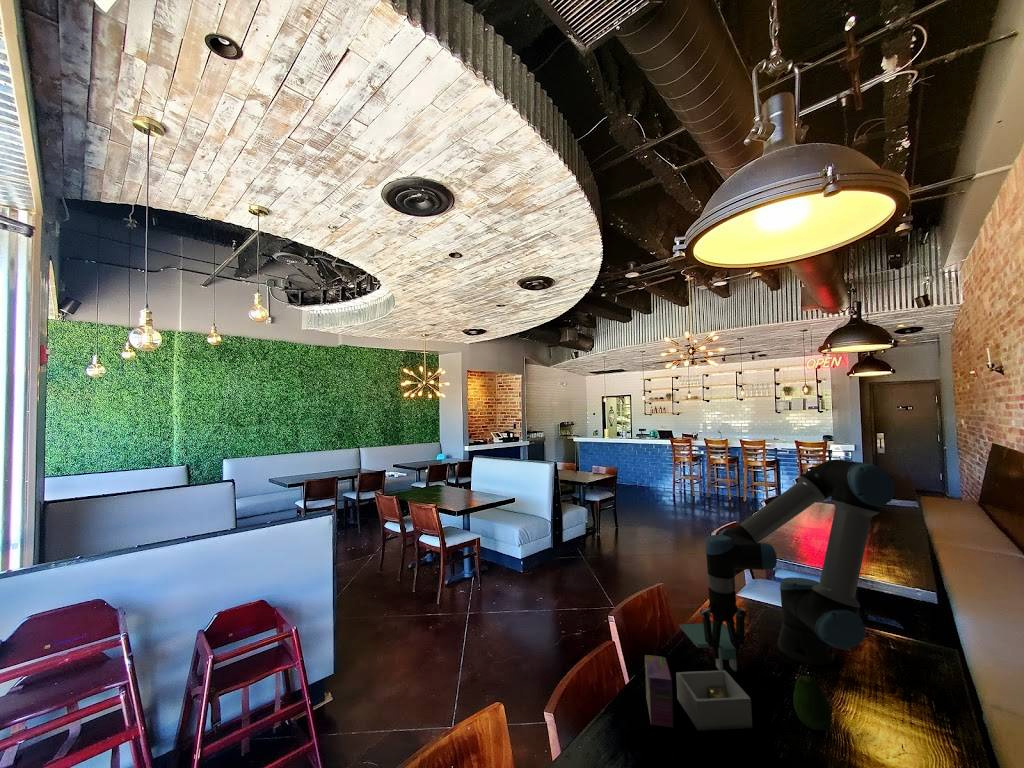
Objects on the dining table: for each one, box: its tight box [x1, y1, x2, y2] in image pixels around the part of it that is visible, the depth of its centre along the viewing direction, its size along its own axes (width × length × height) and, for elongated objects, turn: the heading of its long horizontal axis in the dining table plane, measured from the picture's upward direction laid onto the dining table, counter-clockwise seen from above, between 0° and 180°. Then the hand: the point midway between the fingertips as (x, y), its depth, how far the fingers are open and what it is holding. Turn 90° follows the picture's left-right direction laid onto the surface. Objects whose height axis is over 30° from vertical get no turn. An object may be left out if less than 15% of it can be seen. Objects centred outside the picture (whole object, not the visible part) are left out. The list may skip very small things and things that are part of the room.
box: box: [644, 654, 674, 728], centre depth 112 cm, size 10×6×12 cm, turn 168°
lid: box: [679, 622, 745, 661], centre depth 134 cm, size 15×18×3 cm
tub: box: [675, 669, 753, 732], centre depth 112 cm, size 14×12×7 cm
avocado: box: [792, 675, 832, 731], centre depth 106 cm, size 8×8×12 cm
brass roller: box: [707, 687, 727, 699], centre depth 115 cm, size 4×3×3 cm
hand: (726, 668), depth 127 cm, fingers closed on lid, 3 cm apart
